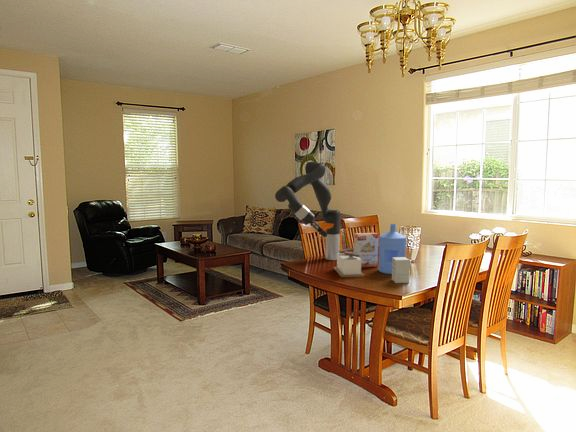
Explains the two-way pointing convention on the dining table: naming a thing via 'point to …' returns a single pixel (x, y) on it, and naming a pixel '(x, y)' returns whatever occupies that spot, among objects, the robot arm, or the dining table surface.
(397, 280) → the supplement box
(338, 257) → the switch panel
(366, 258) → the cracker box
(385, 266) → the water jug
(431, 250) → the dining table surface
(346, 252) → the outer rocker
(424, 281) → the dining table surface
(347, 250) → the block
